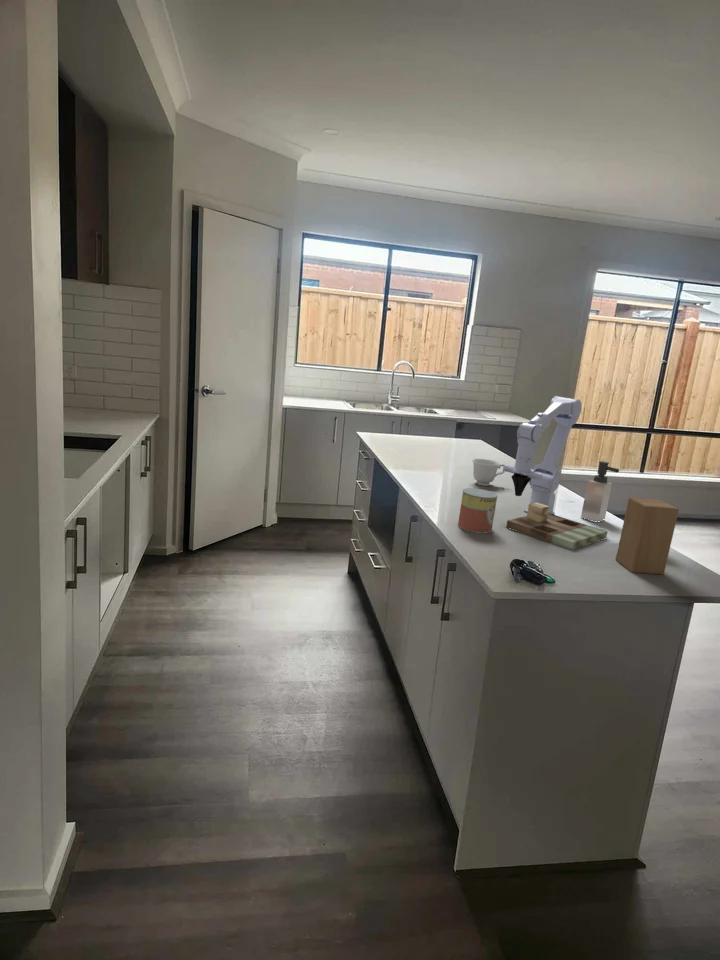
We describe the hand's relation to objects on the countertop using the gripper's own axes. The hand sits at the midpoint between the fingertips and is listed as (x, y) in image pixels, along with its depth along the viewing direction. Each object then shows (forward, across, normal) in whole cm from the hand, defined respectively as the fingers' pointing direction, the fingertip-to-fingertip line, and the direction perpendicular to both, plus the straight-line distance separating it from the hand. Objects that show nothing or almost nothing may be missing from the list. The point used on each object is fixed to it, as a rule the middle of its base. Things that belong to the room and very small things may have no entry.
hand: (518, 495), depth 219 cm
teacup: (+9, -38, +36) cm, 53 cm away
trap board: (+9, +16, 0) cm, 19 cm away
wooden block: (+9, +48, -7) cm, 49 cm away
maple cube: (+6, +8, 0) cm, 11 cm away
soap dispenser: (+9, +16, +31) cm, 36 cm away
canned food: (+9, 0, -23) cm, 25 cm away
